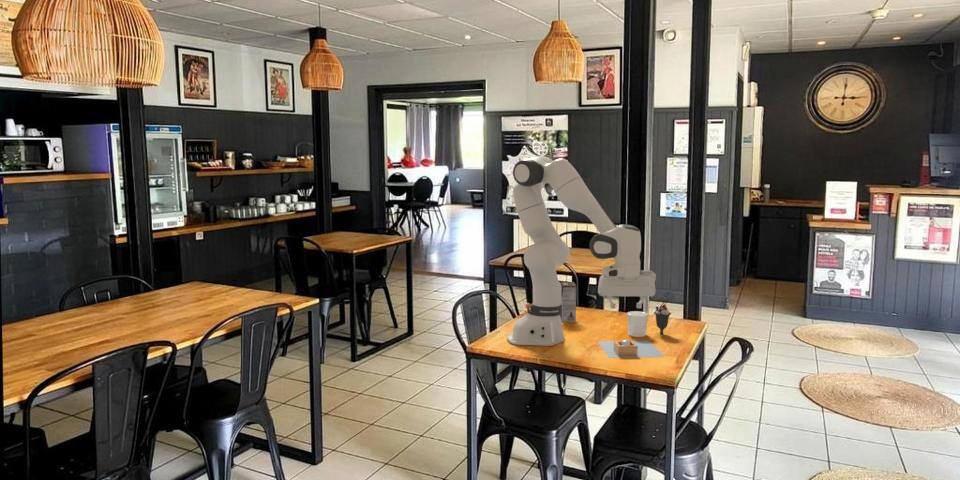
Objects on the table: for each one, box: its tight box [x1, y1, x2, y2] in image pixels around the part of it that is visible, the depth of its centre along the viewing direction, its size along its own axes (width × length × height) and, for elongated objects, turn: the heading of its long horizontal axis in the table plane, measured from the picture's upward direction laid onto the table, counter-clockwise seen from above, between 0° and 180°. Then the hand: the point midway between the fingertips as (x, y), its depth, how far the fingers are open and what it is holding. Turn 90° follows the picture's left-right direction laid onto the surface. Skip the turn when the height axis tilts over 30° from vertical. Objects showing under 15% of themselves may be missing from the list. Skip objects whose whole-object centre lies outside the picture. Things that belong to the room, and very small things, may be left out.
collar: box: [613, 340, 638, 356], centre depth 238 cm, size 7×7×4 cm
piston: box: [620, 339, 631, 346], centre depth 237 cm, size 3×3×4 cm
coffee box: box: [559, 281, 577, 323], centre depth 291 cm, size 9×6×16 cm
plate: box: [596, 340, 666, 359], centre depth 243 cm, size 20×20×2 cm
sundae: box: [653, 301, 672, 336], centre depth 262 cm, size 7×7×15 cm
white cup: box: [626, 310, 649, 338], centre depth 262 cm, size 8×8×10 cm
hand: (625, 308), depth 238 cm, fingers open, 8 cm apart
